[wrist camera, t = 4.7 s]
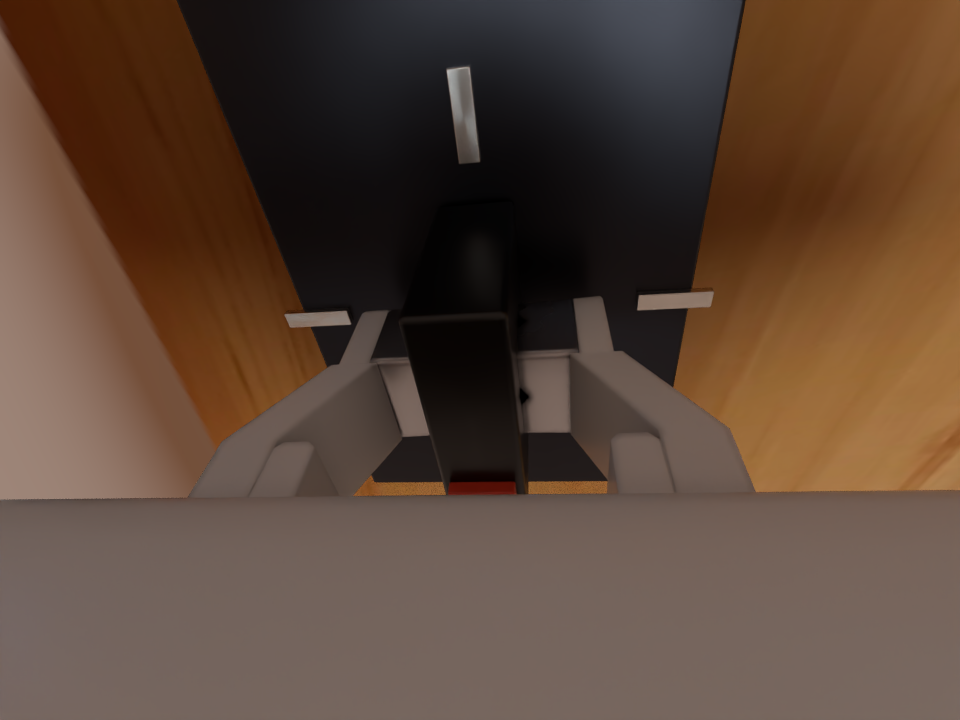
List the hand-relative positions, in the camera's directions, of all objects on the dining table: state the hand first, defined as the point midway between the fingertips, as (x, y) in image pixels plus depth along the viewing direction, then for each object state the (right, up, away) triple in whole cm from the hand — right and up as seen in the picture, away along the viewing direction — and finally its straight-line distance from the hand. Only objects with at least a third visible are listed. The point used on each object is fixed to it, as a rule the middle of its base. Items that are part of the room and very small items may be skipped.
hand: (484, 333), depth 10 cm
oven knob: (0, +1, +1) cm, 1 cm away
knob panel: (0, +3, +3) cm, 4 cm away
